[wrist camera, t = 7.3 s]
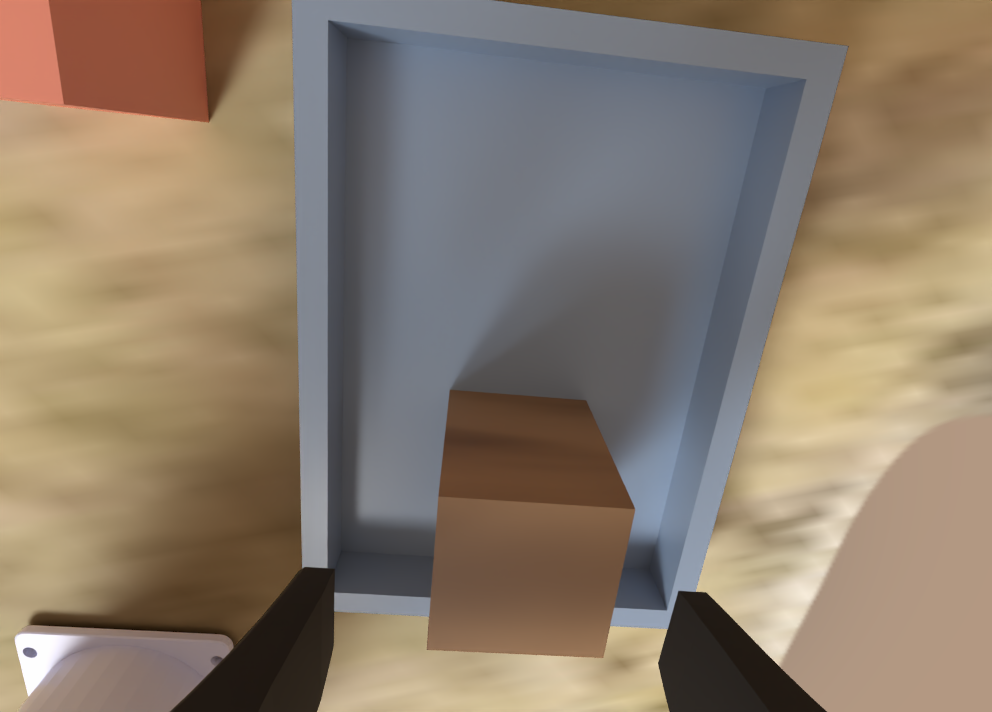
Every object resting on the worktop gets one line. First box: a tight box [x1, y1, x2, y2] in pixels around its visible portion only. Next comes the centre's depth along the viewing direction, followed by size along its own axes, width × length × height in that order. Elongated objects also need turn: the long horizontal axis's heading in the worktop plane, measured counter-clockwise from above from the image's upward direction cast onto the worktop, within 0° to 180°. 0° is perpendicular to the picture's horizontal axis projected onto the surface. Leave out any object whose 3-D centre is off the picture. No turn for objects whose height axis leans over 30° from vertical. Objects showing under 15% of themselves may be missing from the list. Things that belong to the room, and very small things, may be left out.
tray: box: [292, 0, 848, 629], centre depth 17 cm, size 18×13×3 cm
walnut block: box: [427, 390, 635, 658], centre depth 16 cm, size 4×4×6 cm
